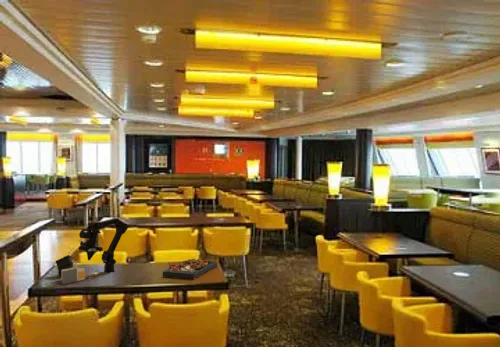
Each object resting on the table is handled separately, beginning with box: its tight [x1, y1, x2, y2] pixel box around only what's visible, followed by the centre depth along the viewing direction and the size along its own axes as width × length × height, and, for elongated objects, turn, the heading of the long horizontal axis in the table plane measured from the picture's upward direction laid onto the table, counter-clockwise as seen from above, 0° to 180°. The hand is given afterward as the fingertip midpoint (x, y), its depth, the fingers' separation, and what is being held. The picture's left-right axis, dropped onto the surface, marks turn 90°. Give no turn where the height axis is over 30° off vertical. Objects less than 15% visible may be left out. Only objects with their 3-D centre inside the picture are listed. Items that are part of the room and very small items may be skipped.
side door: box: [61, 263, 79, 285], centre depth 341 cm, size 11×3×12 cm, turn 146°
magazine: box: [54, 254, 74, 277], centre depth 364 cm, size 4×13×15 cm, turn 78°
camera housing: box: [61, 266, 86, 282], centre depth 350 cm, size 13×10×8 cm
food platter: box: [162, 258, 218, 280], centre depth 378 cm, size 45×25×10 cm, turn 162°
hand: (88, 260), depth 363 cm, fingers closed
